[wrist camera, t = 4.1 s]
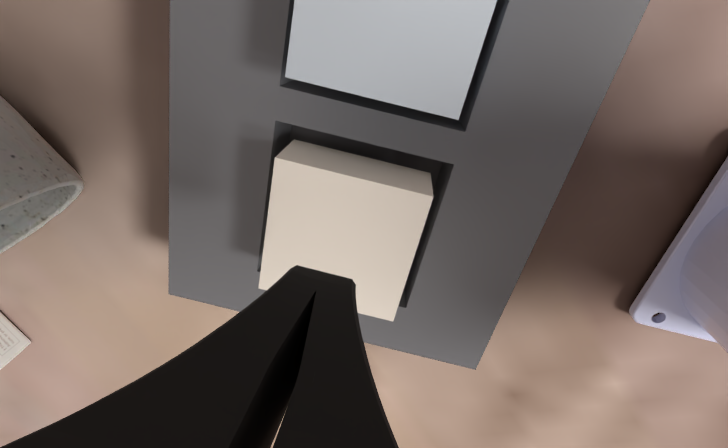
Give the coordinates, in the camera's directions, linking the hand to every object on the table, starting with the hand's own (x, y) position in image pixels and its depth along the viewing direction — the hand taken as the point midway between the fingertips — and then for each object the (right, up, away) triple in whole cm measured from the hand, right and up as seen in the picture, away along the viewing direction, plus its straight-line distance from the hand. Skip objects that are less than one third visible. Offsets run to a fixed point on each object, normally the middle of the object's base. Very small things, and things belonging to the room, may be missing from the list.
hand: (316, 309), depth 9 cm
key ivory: (+1, +2, +5) cm, 5 cm away
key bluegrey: (+2, +8, +2) cm, 8 cm away
